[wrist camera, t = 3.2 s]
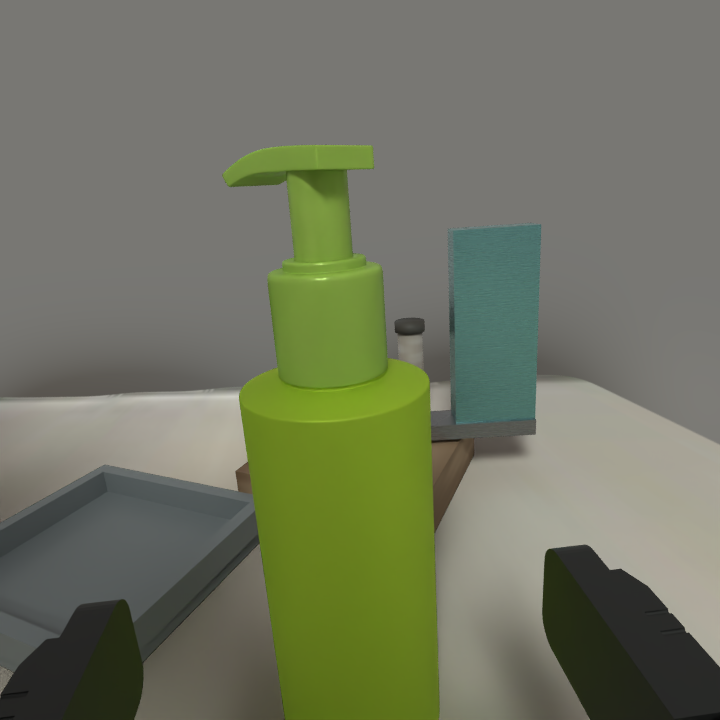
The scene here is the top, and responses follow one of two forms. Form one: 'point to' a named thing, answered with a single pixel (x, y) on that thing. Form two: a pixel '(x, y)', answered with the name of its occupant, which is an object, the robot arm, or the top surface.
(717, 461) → the top surface
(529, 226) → the teal upright panel
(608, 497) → the top surface
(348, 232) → the soap dispenser
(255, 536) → the tray
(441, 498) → the crank base
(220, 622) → the top surface
